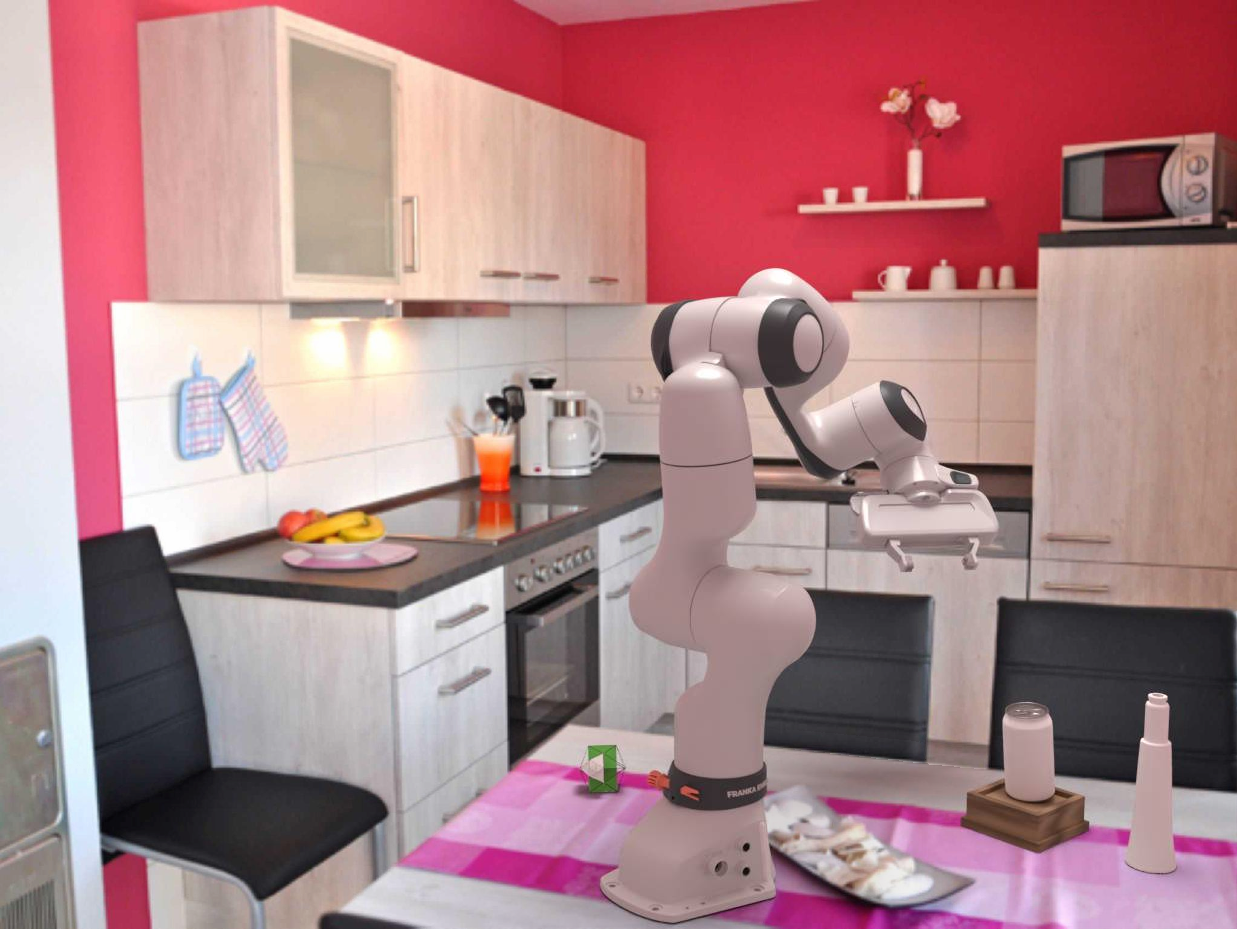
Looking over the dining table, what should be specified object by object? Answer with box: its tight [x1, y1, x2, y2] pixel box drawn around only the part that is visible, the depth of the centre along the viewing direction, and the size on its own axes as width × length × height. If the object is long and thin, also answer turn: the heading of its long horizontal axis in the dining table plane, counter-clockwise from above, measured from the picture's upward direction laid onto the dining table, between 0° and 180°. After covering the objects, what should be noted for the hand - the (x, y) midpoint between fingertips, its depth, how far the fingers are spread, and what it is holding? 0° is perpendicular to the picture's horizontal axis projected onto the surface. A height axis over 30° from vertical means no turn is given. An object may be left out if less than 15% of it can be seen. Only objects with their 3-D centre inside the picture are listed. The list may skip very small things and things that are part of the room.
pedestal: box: [960, 777, 1090, 854], centre depth 178 cm, size 12×12×5 cm
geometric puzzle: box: [578, 744, 628, 793], centre depth 193 cm, size 7×7×8 cm
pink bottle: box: [1124, 692, 1177, 875], centre depth 165 cm, size 6×6×22 cm
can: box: [1002, 701, 1056, 802], centre depth 178 cm, size 6×6×12 cm
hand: (939, 568), depth 183 cm, fingers open, 8 cm apart
